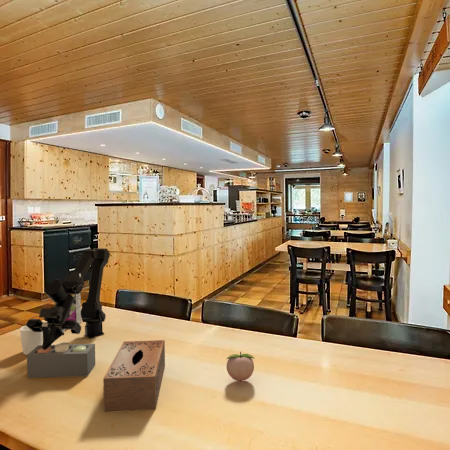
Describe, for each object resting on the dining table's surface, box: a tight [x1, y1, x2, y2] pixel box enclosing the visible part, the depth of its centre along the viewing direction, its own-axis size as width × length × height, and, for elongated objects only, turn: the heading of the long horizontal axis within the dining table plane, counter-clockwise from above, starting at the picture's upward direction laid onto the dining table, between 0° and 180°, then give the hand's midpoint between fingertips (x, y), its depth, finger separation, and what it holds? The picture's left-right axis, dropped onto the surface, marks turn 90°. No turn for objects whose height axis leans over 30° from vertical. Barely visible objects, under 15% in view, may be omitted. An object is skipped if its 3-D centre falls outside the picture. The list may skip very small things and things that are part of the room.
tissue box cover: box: [102, 339, 166, 413], centre depth 109 cm, size 26×14×10 cm, turn 4°
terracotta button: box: [37, 347, 52, 353], centre depth 118 cm, size 4×4×4 cm
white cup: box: [19, 324, 43, 356], centre depth 135 cm, size 8×8×10 cm
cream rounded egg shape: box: [54, 341, 70, 352], centre depth 119 cm, size 4×4×4 cm
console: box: [26, 343, 96, 379], centre depth 119 cm, size 8×20×8 cm, turn 93°
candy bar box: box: [54, 291, 82, 325], centre depth 165 cm, size 11×5×16 cm, turn 84°
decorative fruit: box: [226, 351, 255, 382], centre depth 111 cm, size 9×8×10 cm
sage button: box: [73, 346, 86, 352], centre depth 119 cm, size 4×4×4 cm
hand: (43, 349), depth 118 cm, fingers closed, pressing on terracotta button
